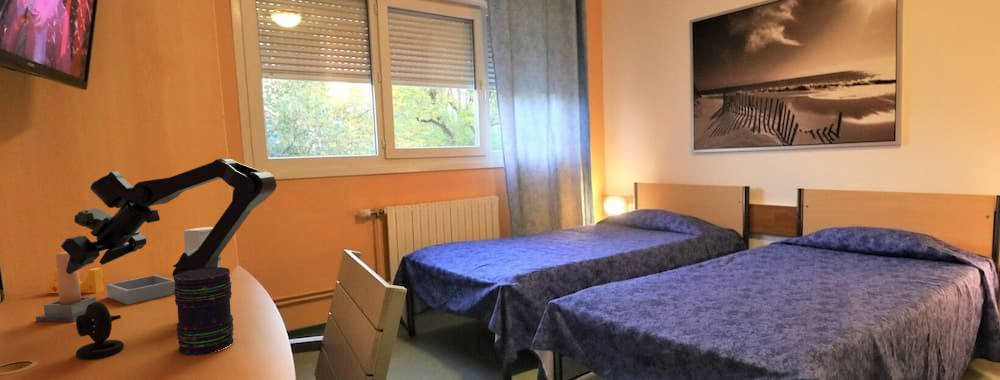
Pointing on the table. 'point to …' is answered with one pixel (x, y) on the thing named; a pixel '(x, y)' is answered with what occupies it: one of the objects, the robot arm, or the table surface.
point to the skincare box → (197, 239)
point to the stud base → (65, 310)
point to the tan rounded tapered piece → (67, 281)
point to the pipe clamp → (84, 282)
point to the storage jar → (203, 310)
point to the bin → (140, 289)
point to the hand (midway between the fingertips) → (85, 267)
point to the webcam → (97, 332)
